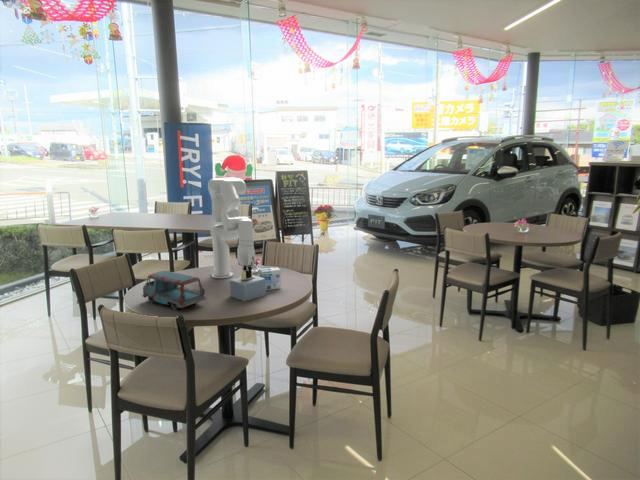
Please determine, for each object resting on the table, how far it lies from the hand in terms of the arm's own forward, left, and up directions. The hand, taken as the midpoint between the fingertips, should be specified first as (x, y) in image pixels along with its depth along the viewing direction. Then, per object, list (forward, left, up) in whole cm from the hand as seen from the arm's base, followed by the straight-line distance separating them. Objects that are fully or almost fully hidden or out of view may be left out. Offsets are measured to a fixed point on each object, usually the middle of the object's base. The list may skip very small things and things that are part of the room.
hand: (247, 277), depth 237 cm
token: (0, -1, -1) cm, 2 cm away
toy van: (-18, -33, -10) cm, 39 cm away
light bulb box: (-2, +17, -10) cm, 20 cm away
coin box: (0, 0, -10) cm, 10 cm away
